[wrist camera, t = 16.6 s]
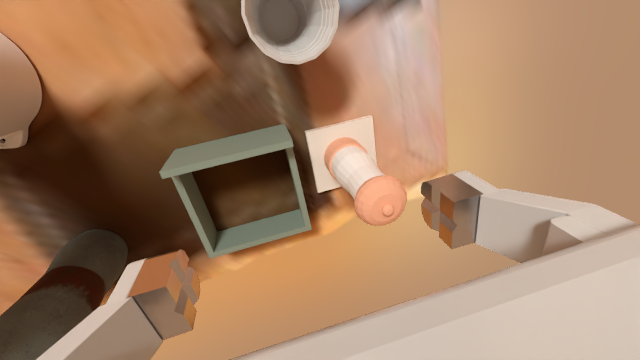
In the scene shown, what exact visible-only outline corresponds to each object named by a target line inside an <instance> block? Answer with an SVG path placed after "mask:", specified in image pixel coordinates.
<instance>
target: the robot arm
mask: <svg viewBox="0 0 640 360" xmlns="http://www.w3.org/2000/svg"><path fill="white" fill-rule="evenodd" d="M41 102H42V90H41V84H40V81H39V78H38V75H37V73H36V71H35V69H34V67H33V66H32V64H31V63H30V61H29V60H28V58H27V57H26V56H25V55H24V53H23V52H22V51H21V50H20V49H19V48H18V47H17V46H16V45H15V44H14V43H13V42H12V41H11V40H9V39H8V38H7V37H6V36H4V35H3V34H2V33H0V149H7V148H18V147H21V146H24V145H25V144H26V143H27V140H28V127H29V125H30V123H31V122H32V120H33V119H34V118H35V116H36V115H37V113H38V111H39V109H40V106H41ZM3 138H4V139H5V141H6V142H5V141H3V140H2V139H3ZM421 194H422V195H423V196H424V197H425V199H424V200H423V202H422V204H421V208H422V214H423V217H424V220H425V222H426V223H427V225H428V226H429V227H430V228H431V229H434V230H436V231H439V237H440V238H441V239H442V240H443V241H444V242H445V243H446V244H447V245H448V246H449V247H450V248H451V249H453V248H457V247H460V246H464V245H467V244H471V243H475V242H476V244H478V245H480V246H483V247H485V248H487V249H490V250H492V251H494V252H497V253H499V254H501V255H503V256H506V257H508V258H510V259H513V260H515V261H517V262H520V263H521V264H518V265H515V266H512V267H509V268H506V269H503V270H500V271H497V272H494V273H491V274H488V275H485V276H482V277H479V278H476V279H473V280H470V281H466V282H464V283H460V284H457V285H454V286H451V287H448V288H445V289H442V290H439V291H436V292H433V293H430V294H427V295H424V296H421V297H418V298H415V299H412V300H408V301H405V302H402V303H399V304H397V305H393V306H390V307H387V308H384V309H381V310H378V311H375V312H372V313H369V314H366V315H363V316H360V317H357V318H354V319H351V320H348V321H345V322H342V323H339V324H336V325H333V326H330V327H327V328H324V329H321V330H318V331H315V332H312V333H309V334H306V335H303V336H300V337H297V338H294V339H291V340H288V341H285V342H281V343H279V344H276V345H273V346H269V347H266V348H263V349H260V350H257V351H254V352H251V353H249V354H245V355H242V356H239V357H236V358H233V359H230V360H640V224H639V225H638V224H636V223H634V222H632V221H630V220H628V219H625V218H623V217H621V216H619V215H617V214H615V213H613V212H611V211H608V210H606V209H604V208H602V207H600V206H598V205H595V204H590V203H584V202H579V201H573V200H567V199H561V198H555V197H549V196H544V195H538V194H532V193H526V192H520V191H515V190H510V189H500V190H499V189H497V188H495V187H494V186H492V185H491V184H489V183H487V182H485V181H484V180H482V179H480V178H478V177H477V176H475V175H473V174H471V173H470V172H468V171H463V170H462V171H458V172H455V173H452V174H449V175H446V176H443V177H440V178H436V179H433V180H430V181H426V182H423V183H422V186H421ZM188 261H189V258H188V256H187V255H186V253H185V251H183V250H181V249H180V250H177V251H173V252H169V253H165V254H161V255H157V256H153V257H149V258H145V259H142V260H138V261H135V262H132V263H130V264H128V265H127V267H126V269H125V270H124V272H123V274H122V276H121V278H120V279H119V281H118V283H117V285H116V287H115V288H114V290H113V292H112V294H111V296H110V297H109V299H108V301H107V303H106V305H102V306H99V307H98V308H97V309H96V310H95V311H93V312H92V313H91V314H90V315H89V316H87V317H86V318H85V319H84V320H83V321H82V322H80V323H79V324H78V325H77V326H76V327H74V328H73V329H72V330H71V331H70V332H68V333H67V334H66V335H65V336H64V337H62V338H61V339H60V340H59V341H58V342H56V343H55V344H54V345H53V346H52V347H50V348H49V349H48V350H47V351H46V352H45V353H43V354H42V355H41V356H40V357H39V358H37V359H36V360H150V359H151V358H152V356H153V355H154V354H155V352H156V351H157V349H158V348H159V346H160V345H161V344H162V342H163V341H162V340H165V339H167V338H171V337H173V336H176V335H179V334H182V333H185V332H188V331H191V330H192V329H193V326H194V321H195V316H196V309H195V308H194V306H193V305H194V304H195V302H197V300H198V299H199V294H200V283H199V279H198V276H197V273H196V271H195V269H193V268H191V267H189V266H187V265H188Z"/></svg>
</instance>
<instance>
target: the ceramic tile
mask: <svg viewBox="0 0 640 360" xmlns="http://www.w3.org/2000/svg"><path fill="white" fill-rule="evenodd" d="M305 135H306V140H307V145H308V150H309V155H310V159H311V164H312V169H313V174H314V179H315V184H316V188H317V192H318V193H320V192H324V191H328V190H331V189H335V188H339V187H342V186H341V185H340V184H339V183H338V181H337V180H336V179H335V178H333V177H332V175H331V174H330V172H329V171H328V169H327V167H326V165H325V163H324V154H325V151H326V149H327V147H328V146H329V145H330V144H331V142H333V141H334V140H336V139H338V138H342V137H349V138H352V139H354V140H356V141H357V142H358V143H359V144H360V145H362V146H363V147H364V148H365V149H366V151H367V153H368V155H369V156H371V157H372V158H373V160H374V161H375V163H376V165H377V162H376V151H375V139H374V128H373V116H371V115H369V116H365V117H360V118H356V119H352V120H348V121H344V122H340V123H336V124H331V125H327V126H323V127H319V128H315V129H311V130H306V131H305Z"/></svg>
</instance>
